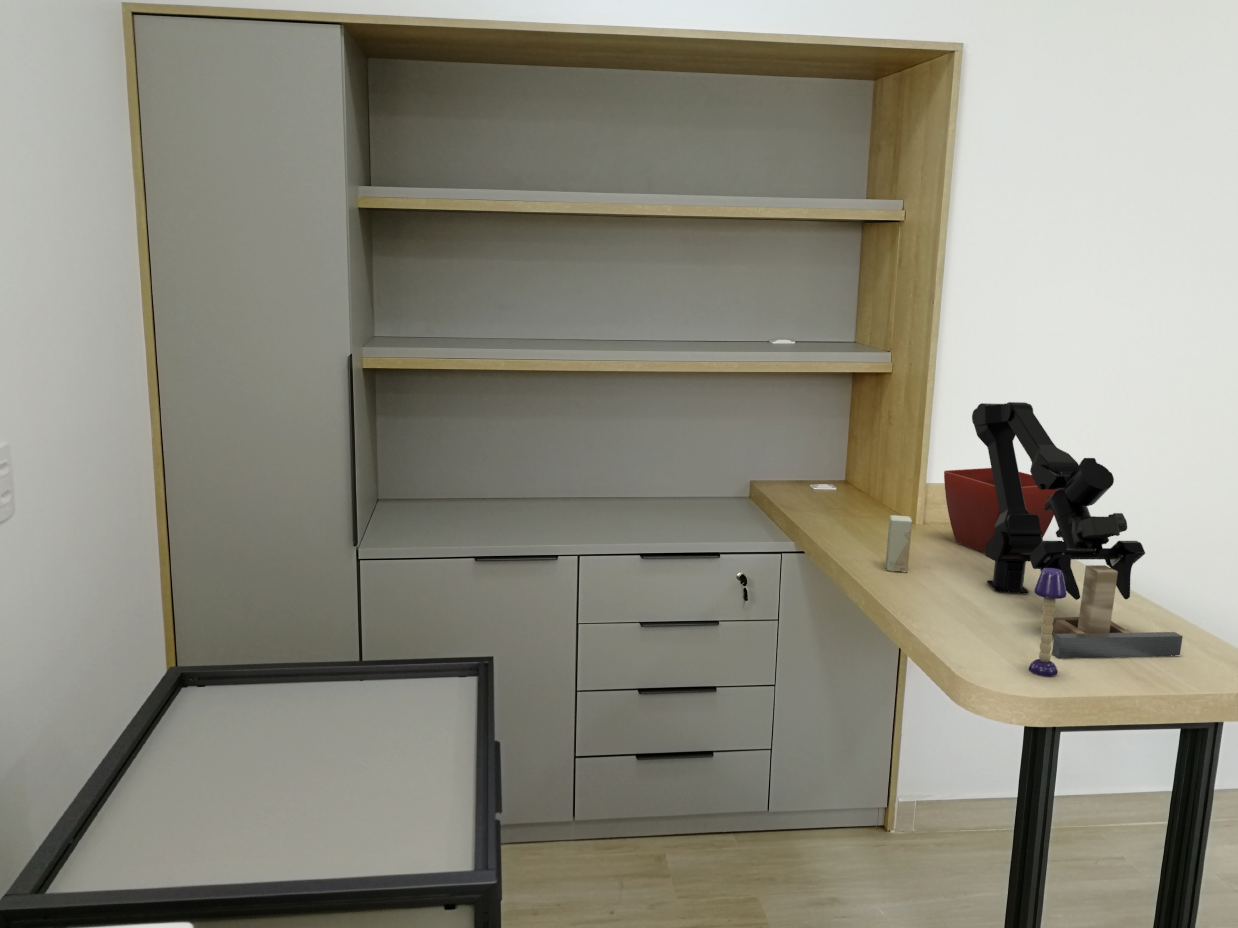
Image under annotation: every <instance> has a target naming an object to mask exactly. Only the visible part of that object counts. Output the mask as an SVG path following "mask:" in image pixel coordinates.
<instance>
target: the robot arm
mask: <svg viewBox="0 0 1238 928" xmlns="http://www.w3.org/2000/svg"><path fill="white" fill-rule="evenodd" d="M971 421H972V424H973V426H974V429H975V434H976V436H977V437H978V439H980V441H981V442H982V443H983V444H984V445H985V446H986V447H987V450H988V457H989V462H990V468H992V473H993V479H994V484H995V490H996V495H997V500H998V506H999V511H1000V515H999V518H998V520H997V522H996V524H995V527H994V533H995V535H994V536H993V537H992V538H991V540H990V541H989V542H988V543H987V544H986V545H985V552H986V553H985V556H986V557H987V558H988V559H991V560H992V561H994V568H993V576H992V580H991V579H990V580H986V584H988V585H989V587H991V589H992V590H993V591H994V592H996V593H1007V594H1008V593H1009V594H1012V593H1013V594H1023V595H1024V594H1026V595H1027V594H1029V590H1028V589H1027V588H1026V587H1025V585H1024V582H1025V581H1024V580H1025V573H1026V564H1027V563H1026V562H1030V564H1031V567H1032V568H1033V569H1034V570H1039V571H1040V572H1041V571H1042V570H1043V569H1044V568H1055V569H1059V570H1061V571H1062V573H1063V577H1064V582H1065V587H1066V593H1067V594H1069V595H1070V596H1071V597H1072V598H1073V599H1074V600H1075V601H1078V600H1079V599H1081V593H1080V589H1079V586H1078V583H1077V580H1076V577H1075V575H1074V573H1073V570H1072V567H1071V564H1072V560H1104V562H1105V564H1106V566H1107V567H1109V568H1111V569H1114V570H1116V571H1118V574H1117V582H1116V588H1117V590H1118V592H1119V593H1120V595H1121V596H1122V597H1123V599H1124V600H1128V599H1129V598H1130V597H1131V574H1132V568H1133V566H1134V564H1135V563H1137V561H1139V560H1140V559H1141V558H1142V557H1143V556H1145V554H1146V550H1145V549H1144V546H1143V544H1142V543H1141V542H1140V541H1138V540H1118V541H1116V543H1115V544H1113V545H1112V546H1111V547H1110V548H1109V547H1107V548H1106V547H1103V546H1104V545H1106V544H1108V543H1109V542H1110V539H1109V538H1111V537H1114V536H1115V537H1116V536H1117V537H1118V536H1120V535H1121V534H1120V533H1122V532H1126V531H1127V529H1128V522H1127V520H1126V517H1125V516H1124V513H1123V512H1114V513H1112V514H1108V516H1093V515H1091V513H1090V510H1089V508H1088V507H1089V506H1093V505H1095V504H1096V503H1097V502H1098V501H1099V500H1100V498H1101V497H1103V495H1105V494H1106V492H1107V491H1108V490H1109V489H1110V488H1111V487H1112V486H1113V485H1114V483H1115V482H1114V481H1115V478H1114V475H1113V473H1112V471H1110V469H1108V468H1107V467H1105V465H1103V464H1100V463H1098V462H1097V460H1096V458H1095V457H1084V458H1083V459H1082V460H1081V461H1080V462H1079V463H1078V462H1077V461H1076V459H1075V458H1074V457H1072V456H1071V455H1070V453H1068V452H1066V451H1064V450H1062V449H1060V448H1058V447H1057V446H1056V445H1055V443H1054V441H1053V440H1052V439H1051V438H1050V436H1049V434H1048V432H1047V431H1046V430H1045V428H1044V427H1043V425H1042V424H1041V422H1040V420H1039V419H1038V418H1037V417H1036V415H1035V413H1034V408H1033V405H1032V404H1031V403H1029V402H1025V401H1024V402H1022V401H1021V402H1019V401H1018V402H1017V401H1015V402H1014V401H1008V402H1007V403H1006V402H1005V403H983V402H982V403H980V404H978V406H977V407H976V408H975V409H973V411H972V415H971ZM1015 437H1016V438H1017V439H1018V441H1019V443H1020V444H1021V447H1022V448H1023V449H1024V451H1025V453H1026V454H1027V455H1028V457H1029V459H1030V461H1031V466H1030V470H1029V471H1030V473H1031V474H1030V475H1032V477H1033V479H1034V481H1035V483H1036V485H1037V487H1038V488H1039V489H1041V490H1058V491H1056V492H1055V493H1054V494H1053V495H1052V496H1049V497H1048V501H1047V502H1046V504H1045V507H1044V509H1045V510H1052V511H1053V513H1054V516H1053V517H1054V518H1055V522H1056V524H1057V527H1058V529H1057V530H1056V532H1055V535H1056V538H1061V539H1062V540H1044V537H1043V538H1042V534H1043V533H1042V531H1041V528H1040V522H1039V517H1038V516H1037V515H1036V514H1030V513H1029V512H1028V511H1027V510H1026V507H1025V502H1024V497H1023V492H1022V486H1021V481H1020V476H1019V472H1020V471H1019V466H1018V462H1017V457H1016V456H1017V455H1016V451H1015V447H1014V446H1015V445H1014V440H1015Z"/></svg>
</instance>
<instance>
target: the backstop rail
mask: <svg viewBox="0 0 1238 928" xmlns="http://www.w3.org/2000/svg"><path fill="white" fill-rule="evenodd" d="M1053 634H1054V633H1053ZM1052 640H1053V641H1052V642H1053V643H1052V647H1051V655H1053V656H1054V657H1055V658H1057V659H1086V658H1089V659H1090V658H1091V659H1093V658H1095V659H1096V658H1097V659H1098V658H1101V659H1103V658H1139V657H1140V658H1142V657H1143V658H1145V657H1148V658H1149V657H1151V658H1152V657H1153V656H1156V657H1172V656H1171V655H1181V650H1182V643H1183V635H1181V634H1180V633H1177V632H1175V631H1159V632H1157V631H1155V632H1153V631H1152V632H1151V631H1149V632H1148V631H1147V632H1144V631H1143V632H1131V633H1077V634H1054V635H1053V639H1052ZM1153 658H1154V657H1153Z"/></svg>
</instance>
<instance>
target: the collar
mask: <svg viewBox="0 0 1238 928" xmlns="http://www.w3.org/2000/svg"><path fill="white" fill-rule="evenodd" d="M1078 621H1079V616H1057V617H1056V616H1054V621H1053V623H1052V625H1053V631H1052V633H1051V634H1077V633H1084V632H1083V631H1081V630H1079V629H1078ZM1109 633H1132V632H1131V631H1130V630H1128V629H1126V628H1124V627H1122V626H1120V625H1119V624H1117V623H1116V622H1114V621H1112V620H1111V625H1110V632H1109Z"/></svg>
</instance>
